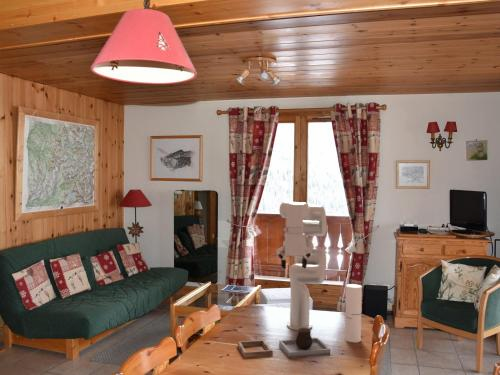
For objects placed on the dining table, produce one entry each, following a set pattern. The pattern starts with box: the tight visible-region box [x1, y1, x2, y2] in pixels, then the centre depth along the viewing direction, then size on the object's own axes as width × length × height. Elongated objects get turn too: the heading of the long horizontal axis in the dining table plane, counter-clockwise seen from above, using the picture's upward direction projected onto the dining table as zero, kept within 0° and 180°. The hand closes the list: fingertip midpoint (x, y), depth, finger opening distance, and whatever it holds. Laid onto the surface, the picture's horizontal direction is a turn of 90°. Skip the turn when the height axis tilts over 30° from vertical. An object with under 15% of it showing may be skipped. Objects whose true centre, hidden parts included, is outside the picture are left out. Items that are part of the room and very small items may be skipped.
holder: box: [237, 339, 273, 359], centre depth 193 cm, size 13×12×2 cm
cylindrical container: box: [344, 283, 363, 343], centre depth 208 cm, size 7×7×25 cm
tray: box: [278, 337, 331, 359], centre depth 194 cm, size 14×18×2 cm
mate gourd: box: [295, 328, 313, 350], centre depth 194 cm, size 7×8×10 cm
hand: (294, 268), depth 205 cm, fingers open, 9 cm apart
